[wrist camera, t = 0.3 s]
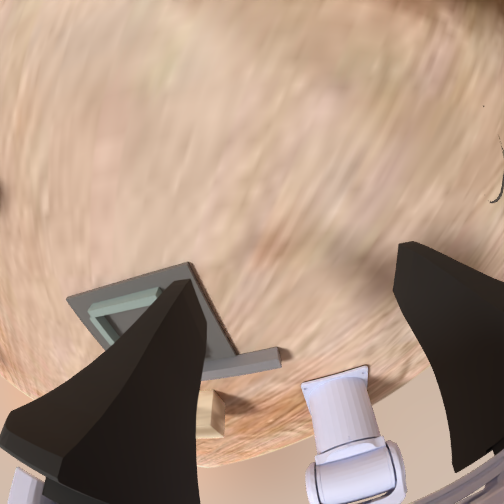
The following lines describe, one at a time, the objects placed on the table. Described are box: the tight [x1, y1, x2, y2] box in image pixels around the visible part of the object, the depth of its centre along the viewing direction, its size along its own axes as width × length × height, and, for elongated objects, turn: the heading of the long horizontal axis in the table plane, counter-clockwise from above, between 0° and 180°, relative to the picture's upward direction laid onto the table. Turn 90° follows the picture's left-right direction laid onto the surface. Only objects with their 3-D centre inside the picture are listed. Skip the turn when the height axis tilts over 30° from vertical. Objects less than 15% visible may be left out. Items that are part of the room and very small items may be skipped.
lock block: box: [196, 390, 226, 439], centre depth 28 cm, size 4×4×5 cm
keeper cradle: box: [66, 262, 236, 362], centre depth 23 cm, size 11×14×2 cm
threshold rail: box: [201, 347, 282, 381], centre depth 26 cm, size 2×22×2 cm, turn 108°
